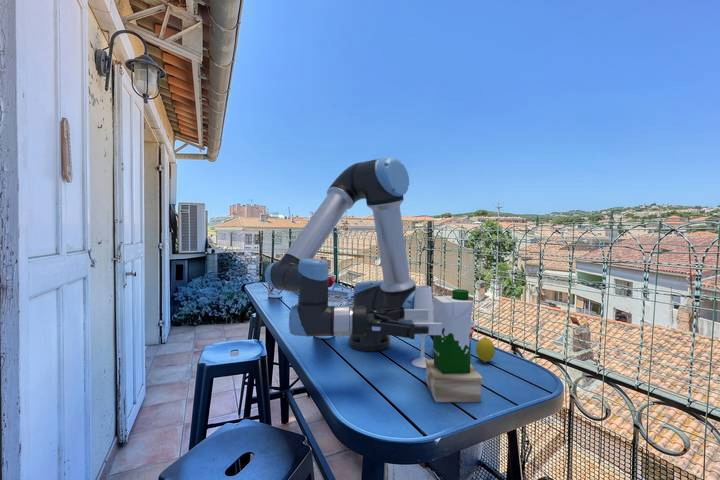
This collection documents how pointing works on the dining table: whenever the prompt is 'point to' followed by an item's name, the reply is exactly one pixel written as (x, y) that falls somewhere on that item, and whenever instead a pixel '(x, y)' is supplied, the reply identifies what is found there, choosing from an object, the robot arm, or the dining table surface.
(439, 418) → the dining table surface
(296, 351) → the dining table surface
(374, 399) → the dining table surface
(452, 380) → the oak riser
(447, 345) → the fresh milk carton
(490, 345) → the lemon
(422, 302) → the champagne flute
